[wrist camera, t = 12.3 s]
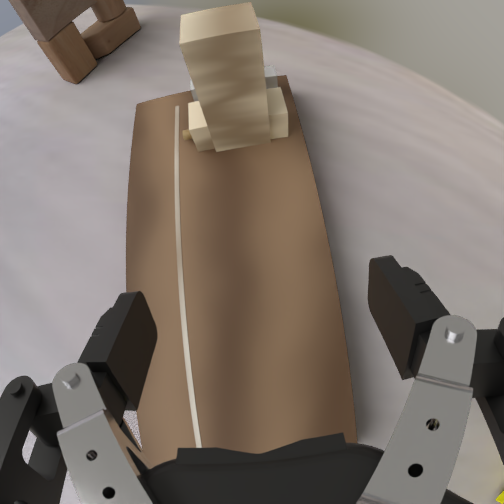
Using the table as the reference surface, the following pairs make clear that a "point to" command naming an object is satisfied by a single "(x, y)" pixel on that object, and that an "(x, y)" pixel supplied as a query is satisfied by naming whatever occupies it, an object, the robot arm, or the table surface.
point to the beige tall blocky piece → (229, 81)
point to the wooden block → (76, 31)
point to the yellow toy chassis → (500, 498)
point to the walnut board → (233, 289)
